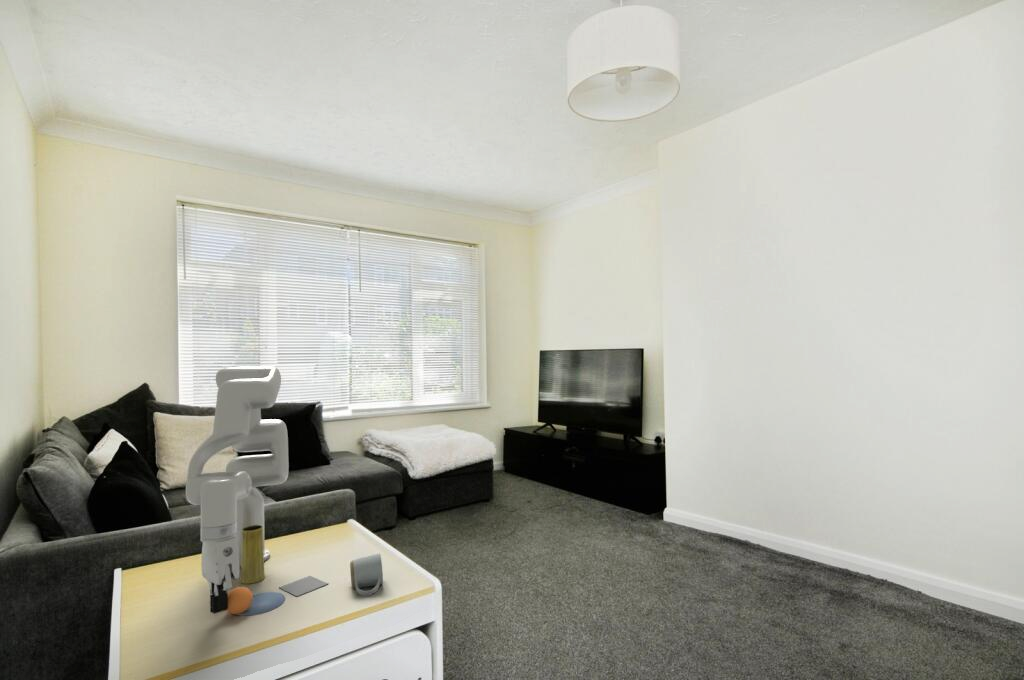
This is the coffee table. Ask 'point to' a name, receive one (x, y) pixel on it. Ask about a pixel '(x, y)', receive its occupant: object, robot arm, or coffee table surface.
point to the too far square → (303, 586)
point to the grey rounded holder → (366, 573)
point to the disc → (264, 603)
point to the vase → (252, 555)
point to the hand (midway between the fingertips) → (219, 610)
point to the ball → (239, 600)
